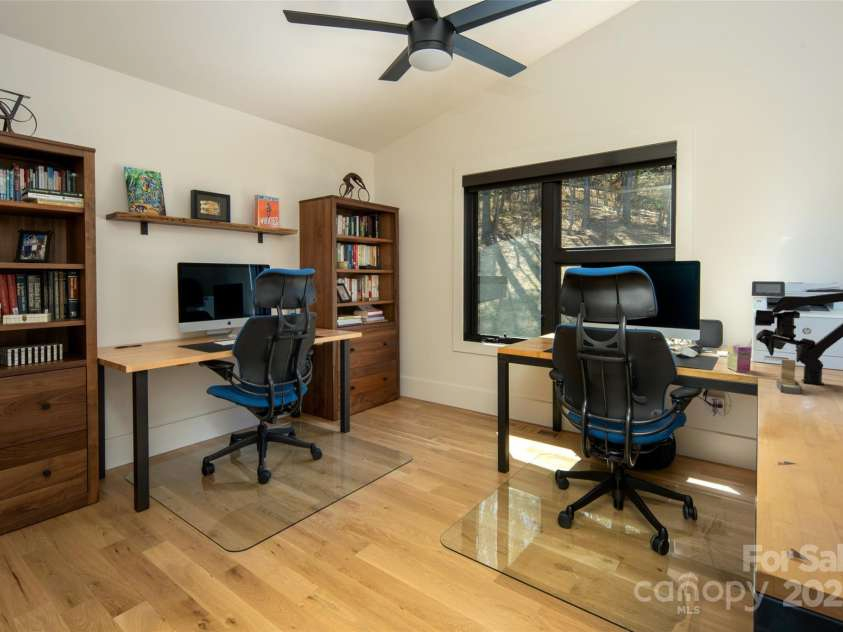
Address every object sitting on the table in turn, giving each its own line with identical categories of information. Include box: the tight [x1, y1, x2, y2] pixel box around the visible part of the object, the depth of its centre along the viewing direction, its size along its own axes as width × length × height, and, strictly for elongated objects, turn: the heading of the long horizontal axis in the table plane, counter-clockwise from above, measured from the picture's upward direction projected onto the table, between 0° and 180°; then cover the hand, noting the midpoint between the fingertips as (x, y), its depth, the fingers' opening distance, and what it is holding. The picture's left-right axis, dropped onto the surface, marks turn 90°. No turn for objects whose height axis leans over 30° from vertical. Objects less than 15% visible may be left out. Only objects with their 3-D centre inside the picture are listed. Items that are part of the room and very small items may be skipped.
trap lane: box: [776, 378, 803, 395], centre depth 177 cm, size 12×6×3 cm, turn 149°
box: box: [726, 343, 752, 373], centre depth 216 cm, size 10×6×12 cm, turn 168°
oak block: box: [780, 359, 796, 385], centre depth 179 cm, size 4×4×9 cm
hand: (784, 358), depth 184 cm, fingers open, 9 cm apart
